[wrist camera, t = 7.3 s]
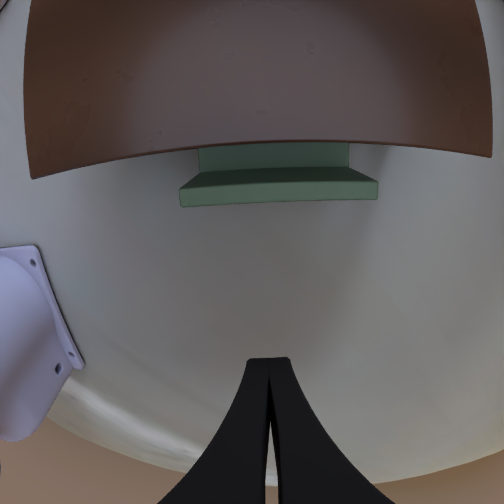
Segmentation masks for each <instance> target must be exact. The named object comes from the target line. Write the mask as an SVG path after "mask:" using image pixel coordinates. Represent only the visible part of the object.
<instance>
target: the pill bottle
mask: <svg viewBox="0 0 504 504" xmlns="http://www.w3.org/2000/svg"><path fill="white" fill-rule="evenodd" d="M6 1H7V0H0V10H1V8H2V7H3V6H4V4H5V3H6Z"/></svg>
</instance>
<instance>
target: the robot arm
mask: <svg viewBox="0 0 504 504" xmlns="http://www.w3.org/2000/svg"><path fill="white" fill-rule="evenodd" d="M35 262H36V263H35ZM84 365H85V364H84V362H83V360H82V358H81V356H80V354H79V352H78V350H77V348H76V346H75V344H74V342H73V340H72V337H71V335H70V333H69V331H68V329H67V326H66V324H65V322H64V319H63V317H62V315H61V312H60V310H59V307H58V305H57V302H56V300H55V297H54V295H53V292H52V289H51V287H50V284H49V281H48V278H47V275H46V272H45V269H44V266H43V263H42V260H41V257H40V253H39V251H38V249H37V248H36V247H35V246H33V245H29V246H19V247H9V248H0V439H2V440H4V441H9V442H16V441H20V440H23V439H25V438H27V437H28V436H30V435H31V434H32V433H33V432H35V431H36V430H37V428H38V427H39V426H40V425H41V423H42V422H43V420H44V418H45V416H46V414H47V413H48V411H49V409H50V407H51V406H52V404H53V402H54V400H55V399H56V397H57V395H58V393H59V392H60V390H61V388H62V387H63V385H64V383H65V382H66V380H67V378H68V377H69V375H70V373H71V372H72V370H73V369H78V370H82V369H83V368H84ZM270 422H271V429H272V437H273V445H274V452H275V460H276V467H277V476H278V500H279V504H395V503H394V502H392V501H391V500H390V499H389V498H387V497H386V496H385V495H384V494H382V493H381V492H380V491H379V490H378V489H377V488H375V487H374V486H373V485H372V484H371V483H370V482H369V481H368V480H367V479H366V478H365V477H364V476H363V475H362V474H361V473H360V472H359V471H358V470H357V469H356V468H355V467H354V466H353V465H352V464H351V463H350V461H349V460H348V459H347V458H346V457H345V456H344V454H343V453H342V452H341V451H340V450H339V448H338V447H337V446H336V444H335V443H334V442H333V441H332V439H331V438H330V436H329V435H328V434H327V432H326V431H325V429H324V428H323V426H322V425H321V423H320V422H319V420H318V419H317V417H316V415H315V414H314V412H313V410H312V409H311V407H310V405H309V403H308V401H307V399H306V398H305V396H304V394H303V392H302V390H301V388H300V385H299V383H298V381H297V379H296V376H295V374H294V371H293V368H292V365H291V362H290V359H289V358H287V357H277V358H251V359H249V360H248V361H247V363H246V368H245V371H244V375H243V378H242V381H241V383H240V386H239V389H238V391H237V393H236V396H235V398H234V400H233V402H232V405H231V407H230V409H229V411H228V413H227V415H226V416H225V418H224V420H223V422H222V424H221V426H220V427H219V429H218V431H217V433H216V434H215V436H214V437H213V439H212V441H211V442H210V444H209V445H208V446H207V448H206V449H205V451H204V452H203V454H202V455H201V456H200V458H199V459H198V460H197V462H196V463H195V464H194V465H193V467H192V468H191V469H190V470H189V472H188V473H187V474H186V475H185V476H184V477H183V478H182V480H181V481H180V482H179V483H178V484H177V485H176V486H175V487H174V488H173V489H172V490H171V491H170V492H169V493H168V494H167V495H166V496H165V497H164V498H163V499H162V500H161V501H159V502H158V503H157V504H265V478H266V465H267V454H268V442H269V430H270ZM0 472H1V465H0Z"/></svg>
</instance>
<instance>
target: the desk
mask: <svg viewBox="0 0 504 504" xmlns="http://www.w3.org/2000/svg"><path fill="white" fill-rule="evenodd" d="M23 97H24V122H25V135H26V146H27V154H28V162H29V169H30V176H31V179H37V178H41V177H45V176H48V175H52V174H56V173H60V172H64V171H68V170H72V169H77V168H81V167H86V166H90V165H95V164H100V163H105V162H110V161H115V160H121V159H126V158H132V157H138V156H144V155H151V154H158V153H165V152H172V151H180V150H188V149H198V148H207V147H218V146H231V145H245V144H263V143H294V142H334V143H364V144H382V145H396V146H407V147H417V148H427V149H435V150H443V151H450V152H457V153H464V154H470V155H476V156H482V157H487V158H491V157H492V145H493V117H492V96H491V84H490V75H489V67H488V59H487V53H486V47H485V42H484V36H483V32H482V27H481V23H480V18H479V14H478V11H477V7H476V3H475V0H32V1H31V6H30V12H29V18H28V26H27V34H26V43H25V56H24V80H23Z"/></svg>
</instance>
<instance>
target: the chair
mask: <svg viewBox="0 0 504 504" xmlns="http://www.w3.org/2000/svg"><path fill="white" fill-rule="evenodd" d="M198 160H199V171H200V173H199V174H198V175H197V176H195V177H194V178H193V179H191V180H190V181H189V182H187V183H186V184H185V185H184V186H182V187H181V188H180V189H179V197H180V205H181V207H183V208H184V207H197V206H211V205H226V204H243V203H263V202H287V201H322V200H377V199H378V181H376V180H374V179H372V178H370V177H368V176H366V175H364V174H362V173H360V172H358V171H356V170H354V169H352V168H349V143H334V142H294V143H263V144H245V145H231V146H218V147H207V148H198Z"/></svg>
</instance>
